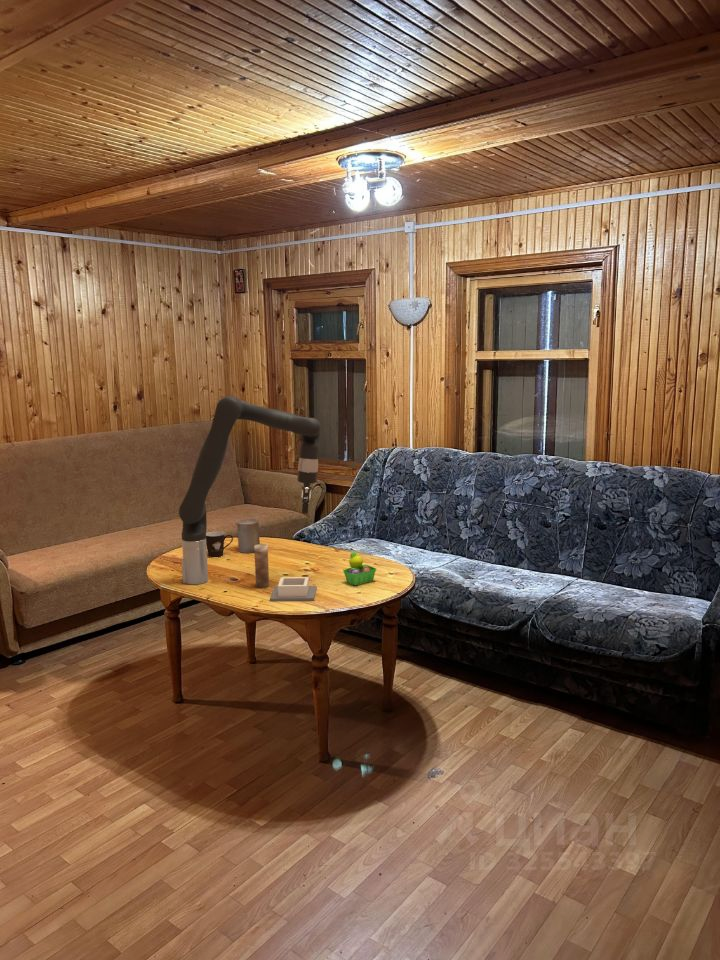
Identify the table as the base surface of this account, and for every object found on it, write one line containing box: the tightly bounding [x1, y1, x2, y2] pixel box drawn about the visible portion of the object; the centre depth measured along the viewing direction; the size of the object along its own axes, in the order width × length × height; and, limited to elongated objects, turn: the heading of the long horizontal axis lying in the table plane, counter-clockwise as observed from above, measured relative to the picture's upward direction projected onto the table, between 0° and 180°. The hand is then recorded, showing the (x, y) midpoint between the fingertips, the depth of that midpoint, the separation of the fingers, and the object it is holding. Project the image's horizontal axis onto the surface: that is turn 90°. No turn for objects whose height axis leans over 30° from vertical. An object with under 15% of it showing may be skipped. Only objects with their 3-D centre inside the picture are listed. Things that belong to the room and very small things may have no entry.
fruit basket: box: [342, 551, 377, 586], centre depth 284 cm, size 11×9×11 cm
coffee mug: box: [206, 531, 234, 558], centre depth 322 cm, size 12×9×10 cm
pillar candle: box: [236, 518, 261, 554], centre depth 329 cm, size 10×10×15 cm
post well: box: [269, 576, 318, 602], centre depth 270 cm, size 16×14×5 cm
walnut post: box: [254, 543, 270, 589], centre depth 279 cm, size 5×5×16 cm
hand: (304, 511), depth 282 cm, fingers open, 8 cm apart
